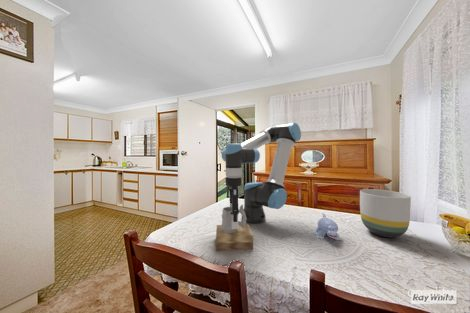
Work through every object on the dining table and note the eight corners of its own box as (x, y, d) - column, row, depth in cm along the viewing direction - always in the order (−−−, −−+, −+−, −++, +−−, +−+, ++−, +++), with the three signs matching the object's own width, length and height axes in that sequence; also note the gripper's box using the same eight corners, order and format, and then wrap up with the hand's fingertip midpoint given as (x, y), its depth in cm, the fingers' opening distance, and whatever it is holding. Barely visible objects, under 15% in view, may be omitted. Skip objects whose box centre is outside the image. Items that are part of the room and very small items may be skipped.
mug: (222, 226, 85) (222, 201, 84) (247, 227, 83) (247, 202, 83) (219, 233, 77) (219, 206, 77) (246, 234, 76) (246, 207, 75)
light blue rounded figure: (320, 244, 80) (320, 223, 79) (312, 229, 94) (312, 212, 94) (346, 246, 77) (346, 225, 77) (334, 231, 92) (334, 213, 92)
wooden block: (248, 235, 87) (248, 223, 87) (253, 248, 75) (253, 235, 75) (216, 237, 86) (216, 225, 86) (216, 250, 74) (216, 236, 74)
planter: (399, 230, 93) (400, 191, 93) (419, 248, 76) (419, 199, 75) (356, 224, 101) (356, 188, 101) (364, 239, 84) (365, 195, 83)
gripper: (224, 173, 92) (224, 213, 92) (226, 181, 67) (226, 235, 68) (238, 173, 93) (238, 212, 93) (245, 180, 68) (245, 234, 68)
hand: (233, 222), depth 80 cm, fingers open, 13 cm apart
